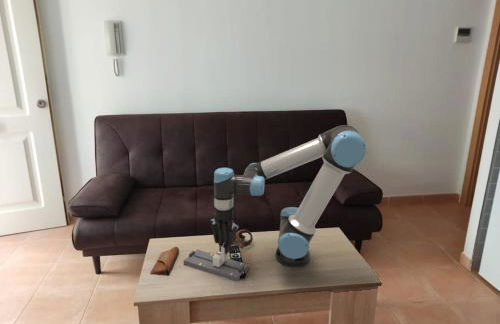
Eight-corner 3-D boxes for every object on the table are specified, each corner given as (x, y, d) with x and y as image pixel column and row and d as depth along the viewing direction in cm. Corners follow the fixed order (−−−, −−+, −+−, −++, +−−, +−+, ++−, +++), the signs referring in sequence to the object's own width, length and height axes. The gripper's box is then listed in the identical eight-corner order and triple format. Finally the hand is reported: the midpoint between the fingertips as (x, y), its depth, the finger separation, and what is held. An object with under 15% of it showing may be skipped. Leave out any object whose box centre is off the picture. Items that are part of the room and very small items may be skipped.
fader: (226, 260, 155) (226, 251, 154) (219, 267, 150) (219, 258, 149) (220, 258, 157) (220, 249, 156) (212, 265, 152) (212, 256, 150)
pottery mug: (250, 238, 179) (254, 229, 174) (248, 255, 173) (253, 246, 167) (226, 233, 178) (230, 223, 172) (223, 250, 171) (227, 240, 165)
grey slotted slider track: (248, 269, 154) (248, 262, 153) (236, 281, 145) (236, 274, 144) (197, 253, 165) (197, 247, 164) (183, 264, 157) (183, 257, 156)
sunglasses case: (160, 251, 166) (167, 240, 164) (174, 259, 167) (181, 248, 165) (148, 275, 149) (156, 263, 147) (164, 283, 150) (171, 271, 148)
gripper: (242, 206, 145) (242, 259, 152) (215, 200, 151) (215, 251, 158) (233, 213, 139) (233, 268, 146) (204, 207, 145) (206, 259, 151)
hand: (224, 259), depth 152 cm, fingers closed
